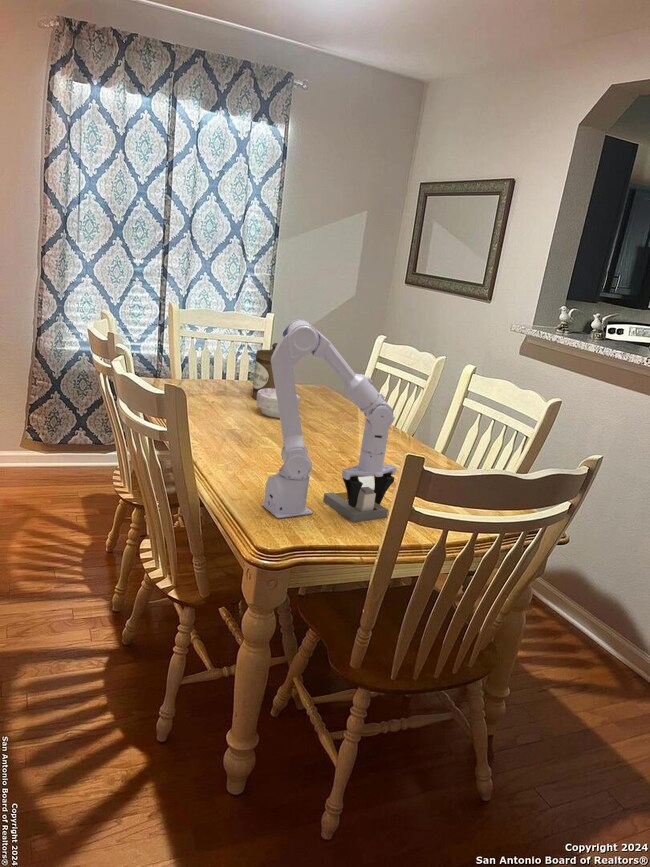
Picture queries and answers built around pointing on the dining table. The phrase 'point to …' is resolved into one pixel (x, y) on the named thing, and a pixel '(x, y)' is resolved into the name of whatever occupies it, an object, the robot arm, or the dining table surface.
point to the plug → (365, 499)
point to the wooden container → (263, 371)
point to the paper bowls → (269, 402)
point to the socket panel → (352, 513)
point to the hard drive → (367, 482)
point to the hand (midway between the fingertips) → (364, 504)
